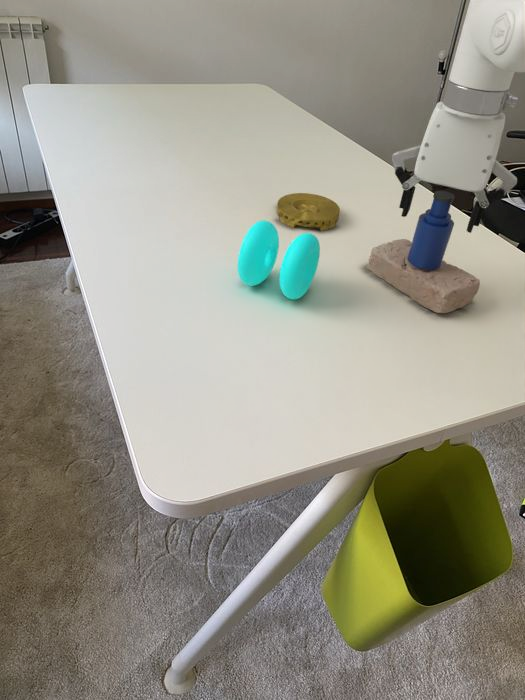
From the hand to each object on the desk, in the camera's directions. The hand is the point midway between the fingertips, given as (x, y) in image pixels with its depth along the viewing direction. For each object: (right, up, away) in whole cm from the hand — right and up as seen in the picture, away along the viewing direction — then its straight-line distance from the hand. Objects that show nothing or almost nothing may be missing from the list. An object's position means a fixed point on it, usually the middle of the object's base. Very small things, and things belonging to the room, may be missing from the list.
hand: (436, 221), depth 82 cm
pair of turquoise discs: (-24, -10, +4) cm, 26 cm away
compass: (-17, +6, +24) cm, 31 cm away
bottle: (-1, -5, +4) cm, 7 cm away
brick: (-1, -9, +7) cm, 12 cm away
